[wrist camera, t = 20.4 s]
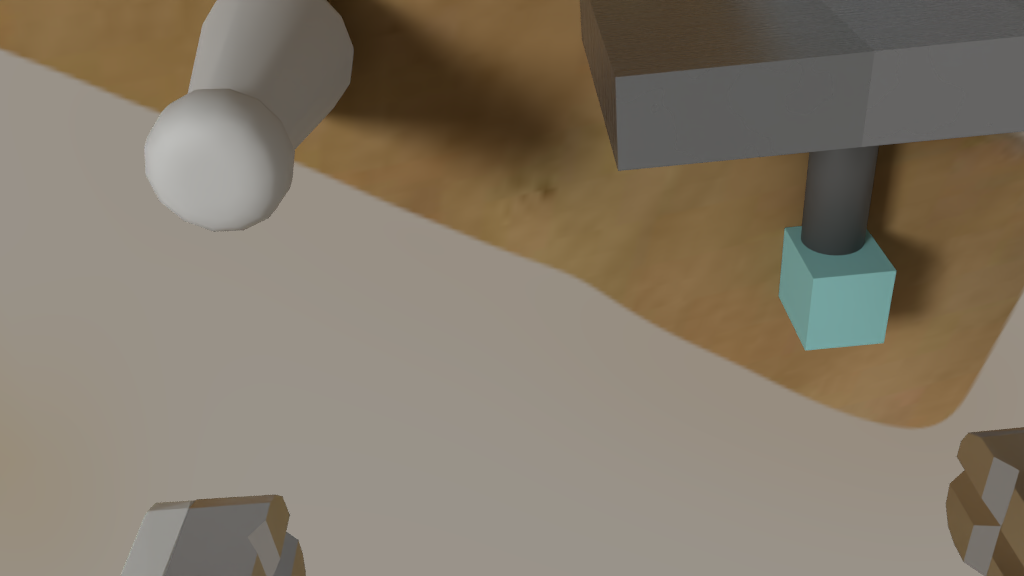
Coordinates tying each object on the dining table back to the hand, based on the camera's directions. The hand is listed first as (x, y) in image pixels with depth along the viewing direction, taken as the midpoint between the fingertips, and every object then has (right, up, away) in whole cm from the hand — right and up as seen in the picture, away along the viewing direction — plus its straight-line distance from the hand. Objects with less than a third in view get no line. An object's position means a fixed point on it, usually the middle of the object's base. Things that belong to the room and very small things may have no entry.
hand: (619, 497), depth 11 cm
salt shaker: (-10, +13, +26) cm, 31 cm away
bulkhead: (+11, +15, +25) cm, 32 cm away
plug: (+13, +8, +30) cm, 34 cm away
